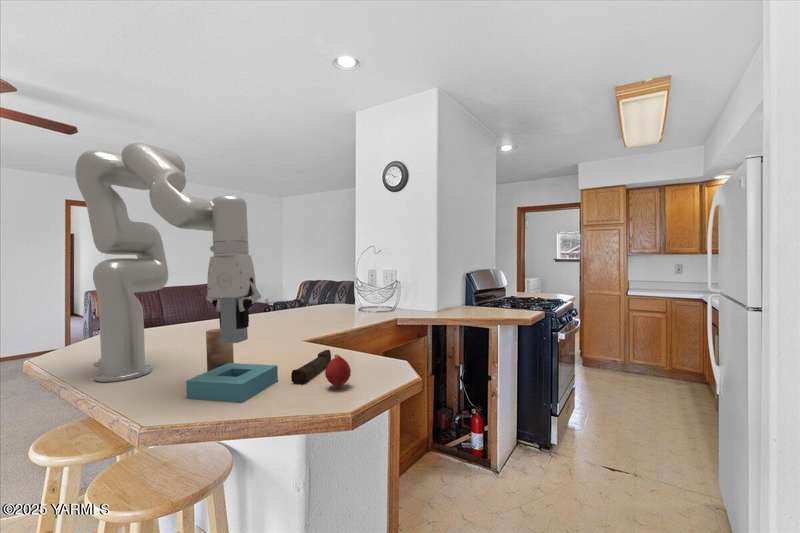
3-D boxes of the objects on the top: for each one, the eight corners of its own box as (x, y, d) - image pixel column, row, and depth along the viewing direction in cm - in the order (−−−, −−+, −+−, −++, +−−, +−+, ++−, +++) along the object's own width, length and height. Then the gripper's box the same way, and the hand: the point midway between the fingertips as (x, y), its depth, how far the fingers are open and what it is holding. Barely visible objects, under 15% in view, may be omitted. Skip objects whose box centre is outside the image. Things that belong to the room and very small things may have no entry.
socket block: (186, 398, 82) (186, 380, 82) (229, 378, 96) (228, 362, 95) (242, 402, 79) (241, 383, 79) (277, 381, 93) (277, 365, 92)
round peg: (201, 378, 96) (200, 332, 96) (218, 371, 102) (217, 327, 102) (223, 379, 95) (221, 333, 94) (239, 372, 101) (237, 328, 101)
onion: (341, 381, 91) (340, 349, 91) (355, 387, 87) (355, 353, 87) (321, 388, 87) (320, 354, 87) (335, 394, 83) (334, 358, 83)
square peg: (221, 342, 85) (219, 290, 85) (233, 339, 89) (231, 289, 89) (236, 343, 84) (234, 290, 84) (247, 339, 88) (245, 289, 88)
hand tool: (305, 386, 89) (304, 367, 89) (290, 384, 90) (290, 365, 90) (339, 364, 107) (339, 348, 107) (326, 363, 109) (326, 347, 108)
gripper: (188, 251, 85) (191, 330, 85) (253, 248, 81) (256, 331, 81) (211, 251, 92) (215, 324, 92) (272, 248, 88) (275, 325, 89)
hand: (234, 327), depth 87 cm, fingers closed on square peg, 4 cm apart
